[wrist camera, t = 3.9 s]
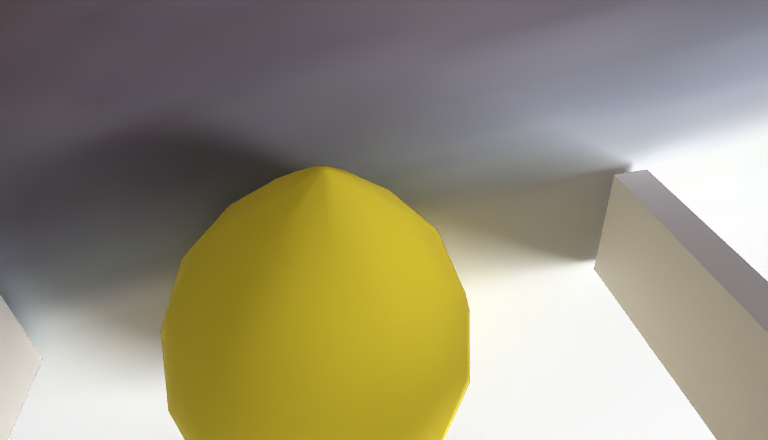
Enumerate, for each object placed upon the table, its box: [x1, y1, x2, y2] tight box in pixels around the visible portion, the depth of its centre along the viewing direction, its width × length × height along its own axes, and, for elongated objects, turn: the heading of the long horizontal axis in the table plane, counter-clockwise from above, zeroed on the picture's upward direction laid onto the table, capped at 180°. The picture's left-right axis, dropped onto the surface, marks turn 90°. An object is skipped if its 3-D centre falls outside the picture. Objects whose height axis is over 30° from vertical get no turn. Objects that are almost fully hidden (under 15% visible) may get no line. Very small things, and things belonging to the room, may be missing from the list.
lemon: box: [161, 166, 470, 440], centre depth 10 cm, size 7×5×5 cm
